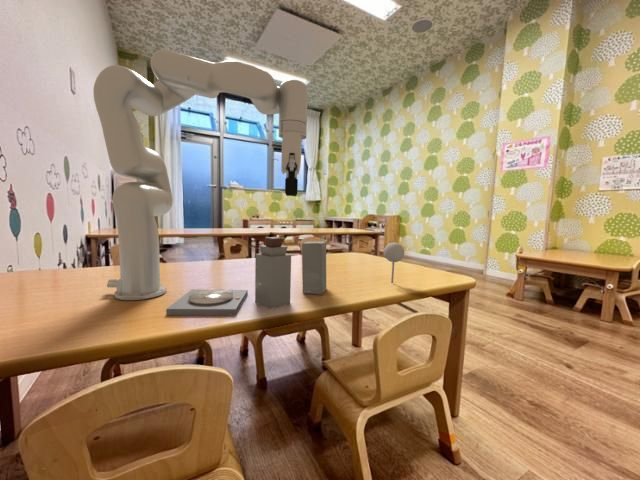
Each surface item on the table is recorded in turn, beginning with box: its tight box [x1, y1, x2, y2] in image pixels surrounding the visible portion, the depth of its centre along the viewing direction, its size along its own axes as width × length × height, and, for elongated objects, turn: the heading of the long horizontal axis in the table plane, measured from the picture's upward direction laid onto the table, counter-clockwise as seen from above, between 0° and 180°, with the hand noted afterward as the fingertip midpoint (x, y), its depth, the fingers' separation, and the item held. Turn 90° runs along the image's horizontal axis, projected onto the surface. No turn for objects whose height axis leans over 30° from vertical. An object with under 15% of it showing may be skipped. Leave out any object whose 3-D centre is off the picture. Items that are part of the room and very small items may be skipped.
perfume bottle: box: [254, 236, 292, 310], centre depth 76 cm, size 7×7×18 cm
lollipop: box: [383, 241, 405, 284], centre depth 101 cm, size 7×7×15 cm
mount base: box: [165, 288, 248, 316], centre depth 75 cm, size 16×16×2 cm
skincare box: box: [301, 240, 327, 296], centre depth 89 cm, size 8×7×16 cm
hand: (291, 195), depth 78 cm, fingers open, 9 cm apart
